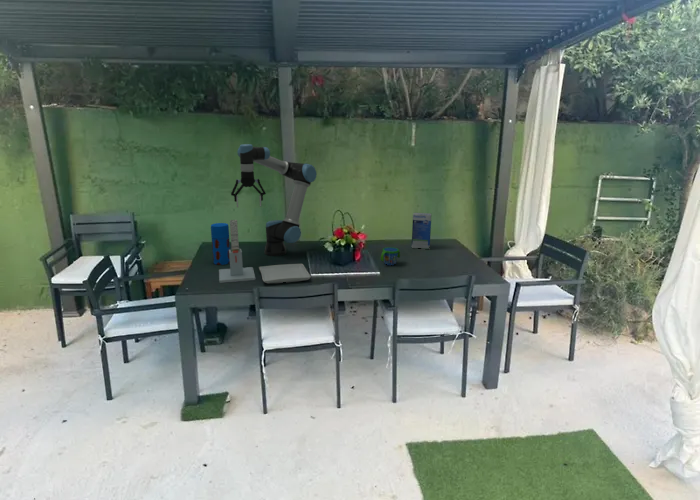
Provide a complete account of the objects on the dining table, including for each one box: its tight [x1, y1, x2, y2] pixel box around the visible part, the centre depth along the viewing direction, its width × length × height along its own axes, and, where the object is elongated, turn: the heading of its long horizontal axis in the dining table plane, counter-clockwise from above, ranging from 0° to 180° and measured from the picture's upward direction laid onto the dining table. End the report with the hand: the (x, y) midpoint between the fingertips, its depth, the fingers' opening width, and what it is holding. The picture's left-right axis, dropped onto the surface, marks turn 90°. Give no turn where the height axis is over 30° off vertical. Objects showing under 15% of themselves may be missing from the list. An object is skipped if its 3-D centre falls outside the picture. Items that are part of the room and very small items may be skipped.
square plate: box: [258, 263, 311, 284], centre depth 261 cm, size 27×27×4 cm
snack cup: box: [380, 246, 401, 266], centre depth 286 cm, size 16×10×10 cm
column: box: [229, 219, 240, 252], centre depth 256 cm, size 4×4×26 cm
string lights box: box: [411, 212, 432, 249], centre depth 322 cm, size 13×8×26 cm, turn 77°
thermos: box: [210, 222, 231, 266], centre depth 282 cm, size 11×11×25 cm
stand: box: [218, 248, 256, 284], centre depth 259 cm, size 20×20×16 cm
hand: (249, 206), depth 266 cm, fingers open, 13 cm apart
